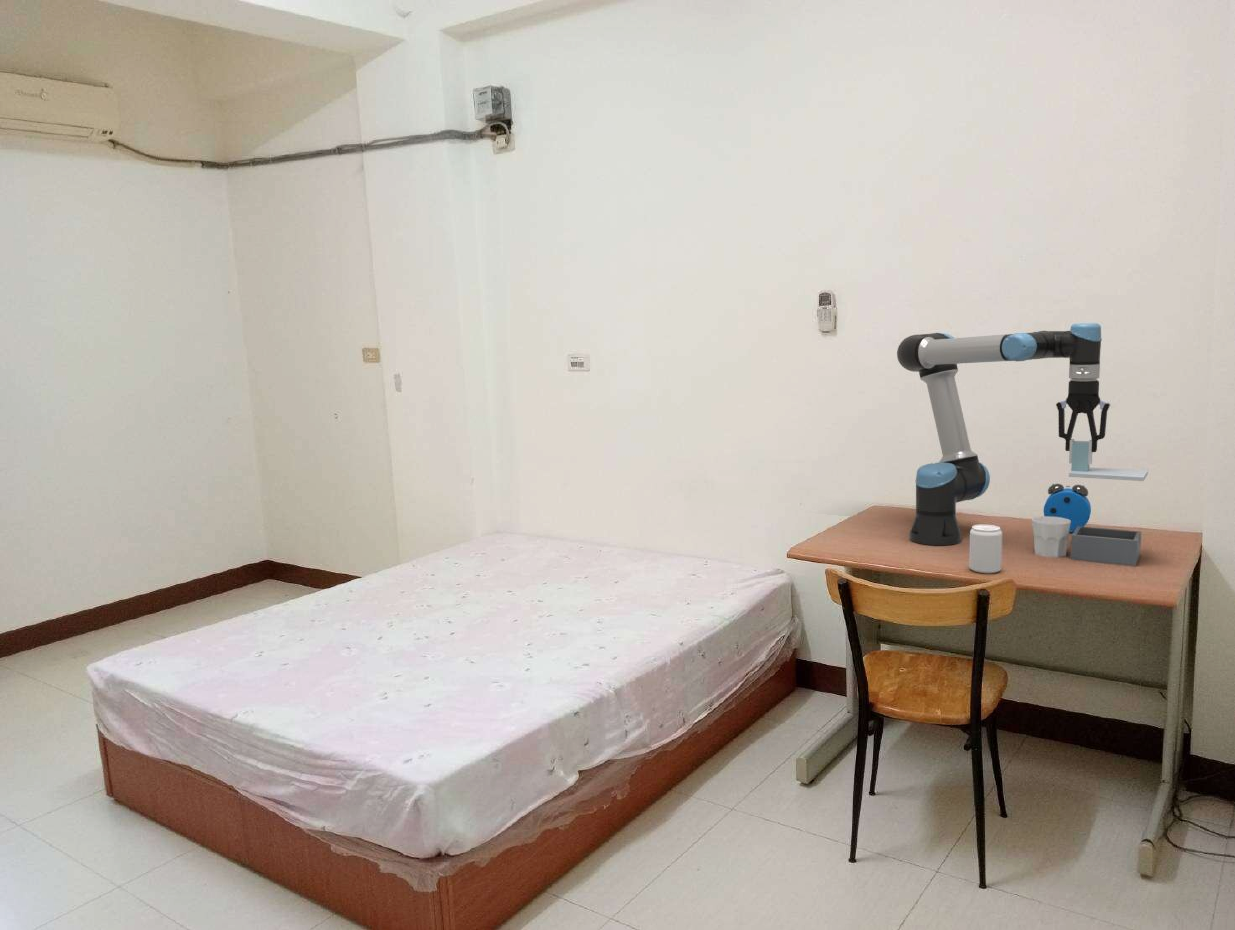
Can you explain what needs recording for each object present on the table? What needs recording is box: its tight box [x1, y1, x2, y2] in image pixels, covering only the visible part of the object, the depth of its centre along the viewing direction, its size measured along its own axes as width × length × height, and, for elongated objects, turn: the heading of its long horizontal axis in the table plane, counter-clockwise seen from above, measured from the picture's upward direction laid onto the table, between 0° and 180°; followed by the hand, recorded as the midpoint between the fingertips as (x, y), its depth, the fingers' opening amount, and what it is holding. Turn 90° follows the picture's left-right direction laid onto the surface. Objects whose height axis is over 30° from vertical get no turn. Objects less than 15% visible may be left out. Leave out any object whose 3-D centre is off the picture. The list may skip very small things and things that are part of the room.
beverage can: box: [968, 523, 1003, 574], centre depth 246 cm, size 8×8×12 cm
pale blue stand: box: [1068, 440, 1149, 482], centre depth 249 cm, size 18×13×9 cm
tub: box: [1070, 526, 1142, 567], centre depth 253 cm, size 16×12×7 cm
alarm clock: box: [1043, 483, 1092, 533], centre depth 284 cm, size 13×6×15 cm, turn 61°
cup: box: [1031, 516, 1071, 559], centre depth 259 cm, size 10×10×10 cm
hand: (1080, 462), depth 253 cm, fingers closed on pale blue stand, 4 cm apart
